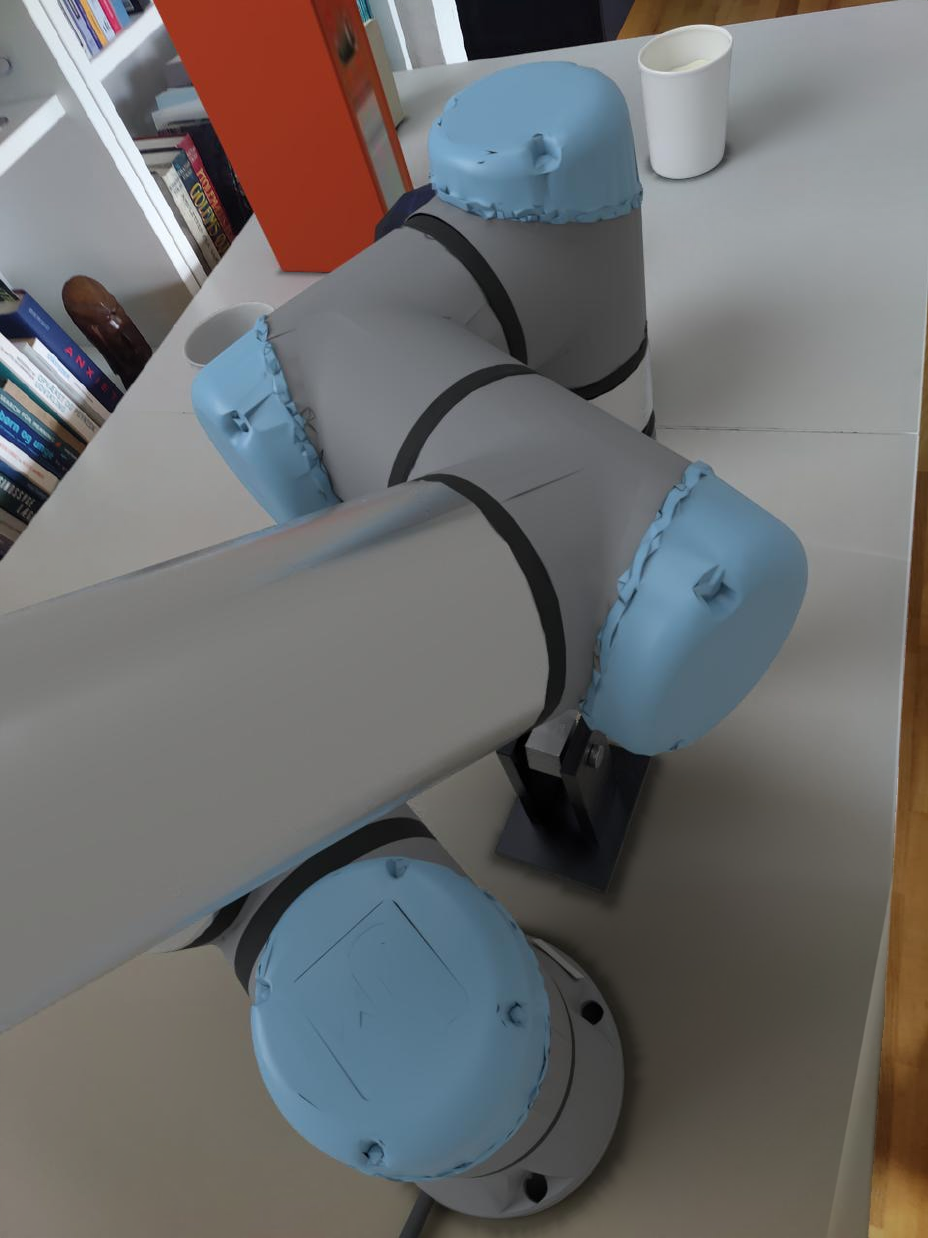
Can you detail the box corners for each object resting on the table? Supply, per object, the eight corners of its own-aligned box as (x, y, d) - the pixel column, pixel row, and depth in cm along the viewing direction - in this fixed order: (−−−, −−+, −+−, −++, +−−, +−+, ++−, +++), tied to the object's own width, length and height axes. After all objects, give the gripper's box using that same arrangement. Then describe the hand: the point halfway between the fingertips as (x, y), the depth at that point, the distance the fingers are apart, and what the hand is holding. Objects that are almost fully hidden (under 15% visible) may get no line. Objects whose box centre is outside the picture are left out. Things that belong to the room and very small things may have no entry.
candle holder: (628, 160, 102) (620, 53, 92) (699, 125, 103) (698, 14, 93) (674, 194, 96) (669, 82, 87) (748, 156, 97) (752, 41, 87)
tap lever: (574, 608, 60) (572, 584, 58) (659, 626, 57) (658, 602, 55) (500, 759, 52) (494, 737, 51) (593, 788, 50) (590, 765, 48)
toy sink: (364, 116, 124) (331, 16, 114) (406, 117, 121) (376, 14, 111) (334, 150, 121) (298, 50, 110) (376, 151, 118) (343, 49, 107)
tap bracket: (547, 732, 64) (515, 644, 53) (652, 762, 60) (640, 674, 50) (498, 857, 59) (453, 787, 49) (607, 896, 56) (584, 831, 46)
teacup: (198, 414, 95) (161, 358, 89) (252, 349, 99) (220, 291, 93) (295, 436, 89) (262, 378, 83) (347, 366, 93) (320, 305, 87)
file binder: (403, 275, 100) (295, -41, 74) (281, 273, 107) (144, -18, 81) (427, 233, 104) (333, -83, 78) (308, 233, 111) (185, -58, 85)
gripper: (793, 385, 40) (766, 640, 59) (439, 349, 48) (515, 585, 67) (754, 504, 37) (739, 734, 56) (382, 446, 45) (478, 665, 63)
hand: (617, 653), depth 61 cm, fingers closed on tap lever, 6 cm apart
